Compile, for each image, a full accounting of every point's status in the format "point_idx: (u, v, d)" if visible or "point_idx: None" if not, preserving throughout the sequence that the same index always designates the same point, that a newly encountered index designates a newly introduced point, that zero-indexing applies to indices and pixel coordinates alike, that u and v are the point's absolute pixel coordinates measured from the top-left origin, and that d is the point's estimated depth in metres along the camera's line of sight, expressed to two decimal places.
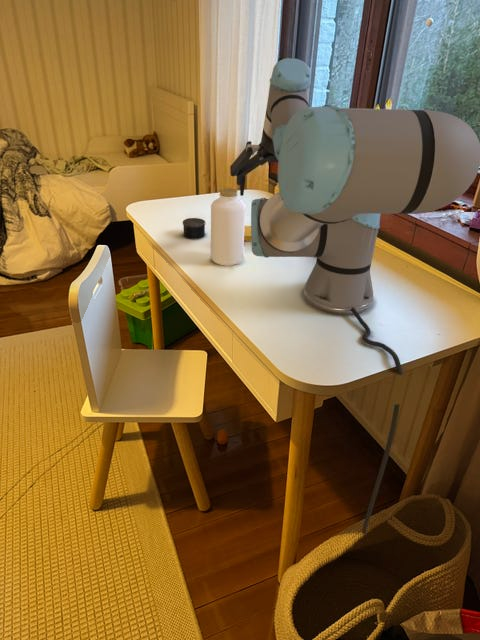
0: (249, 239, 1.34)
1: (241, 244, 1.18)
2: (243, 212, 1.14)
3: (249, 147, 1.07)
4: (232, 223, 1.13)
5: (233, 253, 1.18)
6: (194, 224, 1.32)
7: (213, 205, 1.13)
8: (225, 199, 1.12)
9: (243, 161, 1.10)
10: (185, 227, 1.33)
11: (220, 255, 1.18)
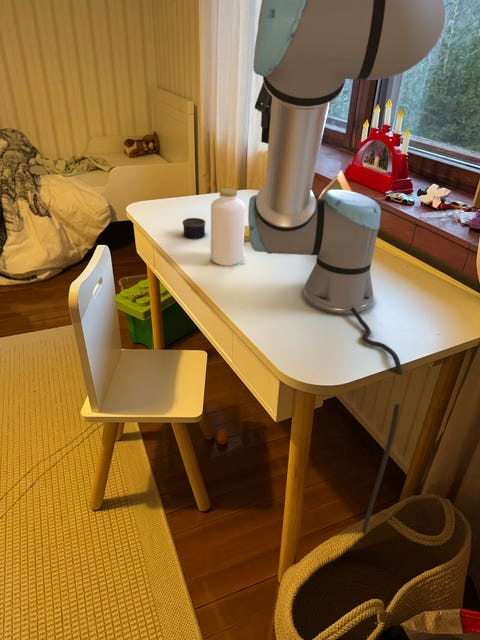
0: (249, 239, 1.34)
1: (241, 244, 1.18)
2: (243, 212, 1.14)
3: None
4: (232, 223, 1.13)
5: (233, 253, 1.18)
6: (194, 224, 1.32)
7: (213, 205, 1.13)
8: (225, 199, 1.12)
9: None
10: (185, 227, 1.33)
11: (220, 255, 1.18)
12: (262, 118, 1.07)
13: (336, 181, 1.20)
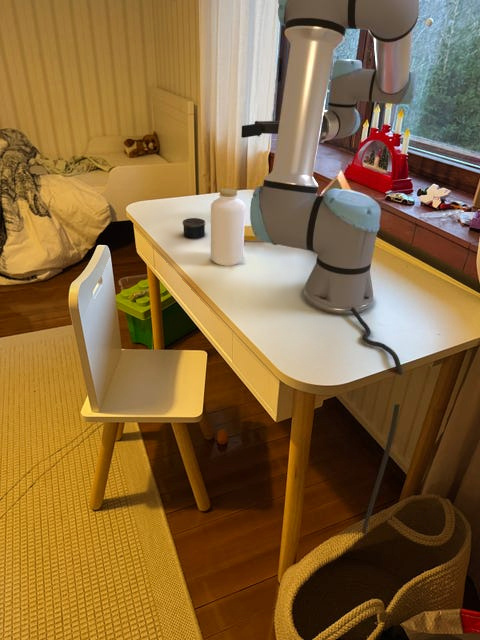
0: (249, 239, 1.34)
1: (241, 244, 1.18)
2: (243, 212, 1.14)
3: None
4: (232, 223, 1.13)
5: (233, 253, 1.18)
6: (194, 224, 1.32)
7: (213, 205, 1.13)
8: (225, 199, 1.12)
9: (275, 121, 1.25)
10: (185, 227, 1.33)
11: (220, 255, 1.18)
12: None
13: (336, 181, 1.20)
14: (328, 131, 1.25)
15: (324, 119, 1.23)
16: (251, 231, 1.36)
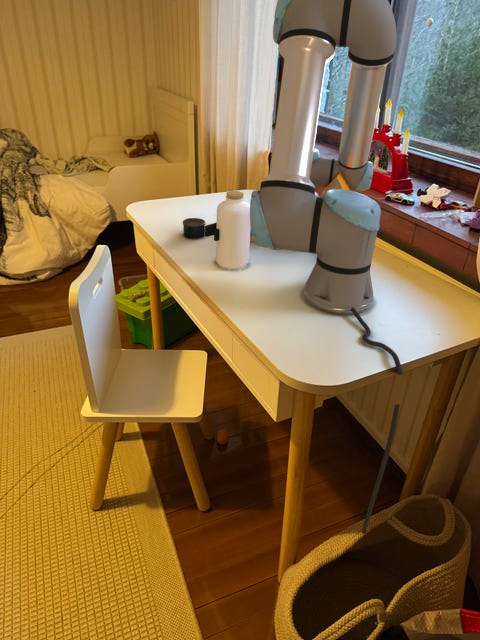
0: None
1: (247, 247, 1.17)
2: None
3: None
4: (239, 226, 1.12)
5: (239, 256, 1.16)
6: (194, 224, 1.32)
7: (219, 208, 1.12)
8: (232, 202, 1.11)
9: None
10: (185, 227, 1.33)
11: (226, 258, 1.16)
12: None
13: (336, 181, 1.20)
14: None
15: None
16: None
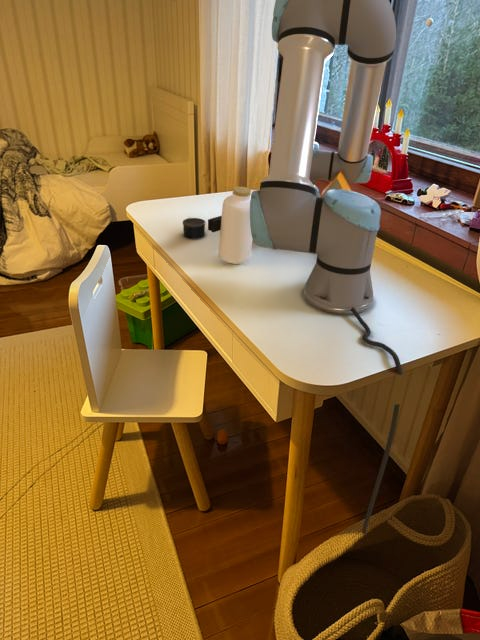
0: None
1: (251, 243, 1.17)
2: None
3: None
4: (245, 223, 1.12)
5: (243, 252, 1.17)
6: (194, 224, 1.32)
7: (226, 204, 1.11)
8: (239, 198, 1.10)
9: None
10: (185, 227, 1.33)
11: (230, 254, 1.17)
12: None
13: (336, 181, 1.20)
14: None
15: None
16: None
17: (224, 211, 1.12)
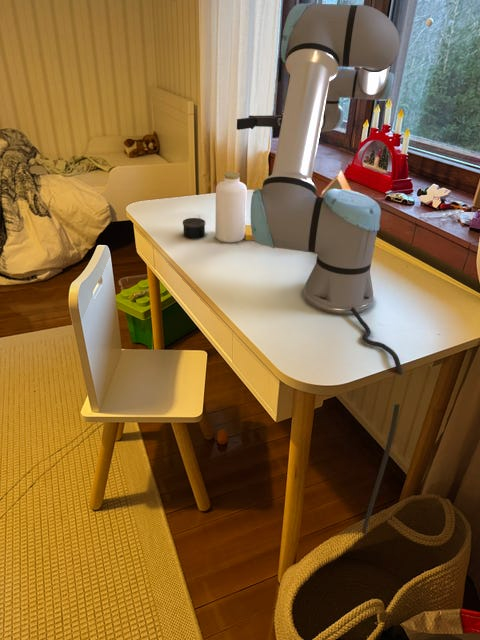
0: (250, 238, 1.34)
1: (244, 222, 1.31)
2: (245, 193, 1.27)
3: None
4: (236, 203, 1.26)
5: (237, 230, 1.30)
6: (194, 224, 1.32)
7: (218, 187, 1.26)
8: (229, 181, 1.25)
9: (267, 115, 1.40)
10: (185, 227, 1.33)
11: (226, 233, 1.30)
12: None
13: (336, 181, 1.20)
14: None
15: None
16: None
17: (217, 194, 1.27)
